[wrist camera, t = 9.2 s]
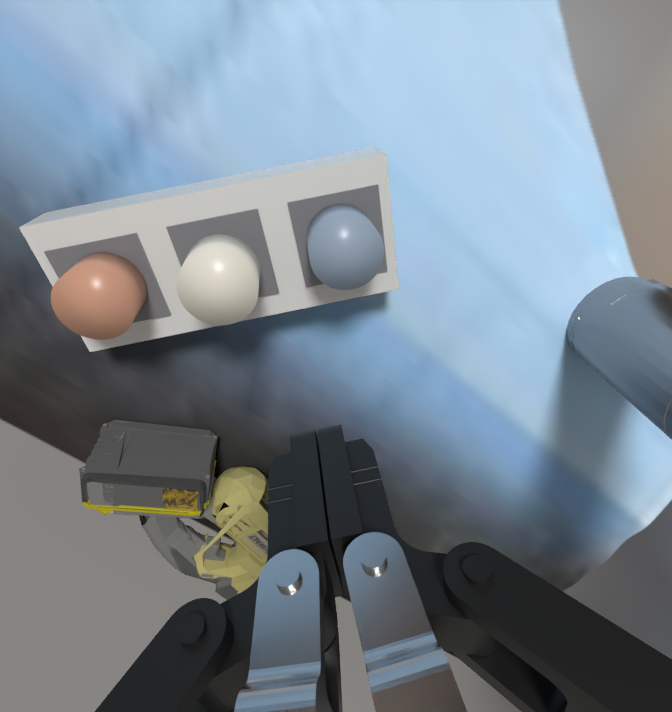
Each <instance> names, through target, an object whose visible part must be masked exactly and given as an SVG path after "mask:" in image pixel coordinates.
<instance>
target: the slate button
mask: <svg viewBox="0 0 672 712" xmlns="http://www.w3.org/2000/svg"><path fill="white" fill-rule="evenodd" d="M306 244H307V250H308V255H309V260H310V264H311V268H312V270H313V272H314V274H315V275H316V277H317V278H318V279H319V280H320V281H321V282H322V283H324V284H325V285H327V286H329V287H331V288H334V289H338V290H352V289H356V288H359V287H361V286H363V285H365V284H367V283H368V282H369V281H371V280H372V279H373V278H374V277H375V275H376V274H377V273H378V271H379V269H380V268H381V265H382V263H383V259H384V244H383V241H382V238H381V236H380V234H379V232H378V231H377V229H376V228H375V226H374V225H373V224H372V222H371V221H370V219H369V218H368V216H367V215H366V214H365V213H364V212H363V211H362V210H360V209H359V208H357V207H355V206H353V205H349V204H334V205H330V206H328V207H326V208H324V209H322V210H321V211H320V212H318V213H317V214H316V215H315V216H314V218H313V219H312V220H311V222H310V224H309V226H308V229H307V234H306Z"/></svg>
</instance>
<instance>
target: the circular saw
mask: <svg viewBox="0 0 672 712" xmlns="http://www.w3.org/2000/svg"><path fill="white" fill-rule="evenodd" d="M217 440H218V437H217V436H215V434H214V433H213V432H212V431H211V430H204V429H195V428H186V427H177V426H168V425H159V424H151V423H142V422H133V421H124V420H113V421H111V422H109V423H107V424H103V426H102V427H101V428H100V437H99V438H98V440H97V444H95V446H94V450H92V452H91V456H89V457H88V458H87V460H86V466H85V467H82V468H80V481H81V493H82V503H83V505H84V506H85V507H88V508H91V509H96V510H98V511H100V512H101V513H103V514H105V515H106V514H107V513H112V514H125V515H139V517H140V520H141V524H142V527H143V528H144V530H145V532H146V533H147V535H148V537H149V538H150V540H151V541H152V543H153V545H154V547H155V548H156V549H157V550H158V551H159V552H160V553H161V554H162V556H163V557H164V558H165V559H166V560H167V561H168V562H169V563H170V564H171V565H172V566H173V567H174V568H175V569H177V570H179V571H180V572H182V573H184V574H186V575H189V576H192V577H195V578H199V579H202V580H206V581H209V582H212V583H215V584H216V592H217V593H218V594H220V595H221V596H222V597H224V598H225V599H226V600H229V599H230V598H232V597H234V596H236V595H237V594H239V593H241V592H243V591H244V590H246V589H247V588H248V587H250V586H251V585H252V584H253V583H254V582H255V581H256V580H257V579H258V577H259V576H260V573H261V571H262V569H263V567H264V566H265V564H266V561H267V555H268V505H269V502H268V491H269V489H268V479H267V478H266V477H265V476H264V475H263V474H262V473H261V472H260V471H258V470H257V469H256V468H254V467H247V466H238V467H234V468H230V469H228V470H225V471H224V472H223V473H222V474H221V475H220V476H219V477H218V478H216V477H214V472H215V466H216V460H215V455H216V448H217ZM224 502H225V503H226V504H227V505H229V506H230V507H227V508H224V509H222V510H221V511H220V509H221V507H222V505H223V503H224ZM219 511H220V512H219ZM214 515H215V516H216V519H215V517H214ZM229 516H231V517H232V518H230V517H229ZM179 517H182V518H199V519H202V518H204V517H205V518H207V519H208V520H210V521H212V522H213V523H215V524H216V525H218V527H220V528H221V531H220V532H219V533H218V534H217V535H216V536H215V537H211V536H208V534H206V535H202V534H200V533H198V532H196V531H195V530H194V529H193V528H192V527H190V526H186V525H185V524H184V523H183V522H182V521H181V520H180V519H179ZM225 522H226V523H227V524H226V523H225ZM395 529H396V528H395ZM224 533H227V534H228V535H229V536H230V537H231V538H232V539H233V540H235V541H236V542H235V543H234V544H233V545H229V544H226V543H221V542H220V541H221V538H220V537H221V536H222V535H223V534H224Z"/></svg>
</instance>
